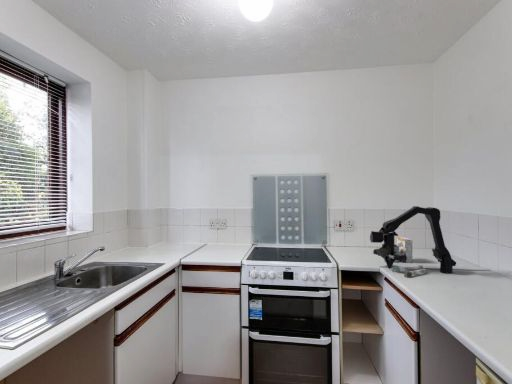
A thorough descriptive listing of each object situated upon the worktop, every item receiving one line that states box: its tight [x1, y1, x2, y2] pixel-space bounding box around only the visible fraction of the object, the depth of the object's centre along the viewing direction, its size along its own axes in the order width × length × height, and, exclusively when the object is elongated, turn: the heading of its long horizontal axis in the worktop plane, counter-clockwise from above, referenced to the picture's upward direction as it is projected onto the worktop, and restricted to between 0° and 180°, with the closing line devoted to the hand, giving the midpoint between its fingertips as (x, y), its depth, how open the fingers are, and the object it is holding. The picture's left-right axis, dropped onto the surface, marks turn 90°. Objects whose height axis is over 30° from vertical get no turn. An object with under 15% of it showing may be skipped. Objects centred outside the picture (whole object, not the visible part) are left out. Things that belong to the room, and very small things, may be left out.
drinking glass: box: [383, 244, 399, 264], centre depth 170 cm, size 10×10×12 cm
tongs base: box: [403, 265, 426, 278], centre depth 145 cm, size 18×18×5 cm
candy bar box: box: [396, 236, 413, 264], centre depth 173 cm, size 11×5×16 cm, turn 179°
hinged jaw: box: [390, 265, 419, 273], centre depth 147 cm, size 14×2×3 cm, turn 79°
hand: (389, 268), depth 151 cm, fingers closed
